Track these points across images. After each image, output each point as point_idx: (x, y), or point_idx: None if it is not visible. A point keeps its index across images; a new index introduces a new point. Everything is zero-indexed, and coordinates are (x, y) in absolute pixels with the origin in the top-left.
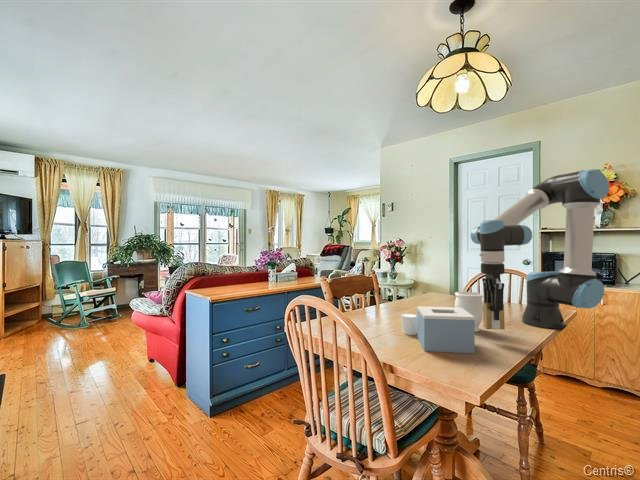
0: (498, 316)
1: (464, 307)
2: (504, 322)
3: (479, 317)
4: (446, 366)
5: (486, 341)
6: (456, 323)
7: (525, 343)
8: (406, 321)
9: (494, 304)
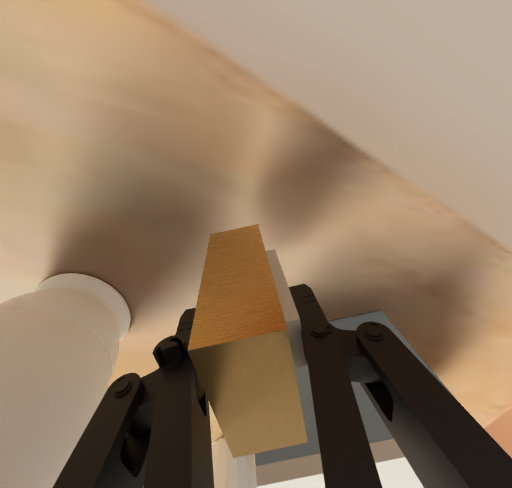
0: (318, 305)
1: None
2: (261, 240)
3: (70, 323)
4: (477, 368)
5: None
6: None
7: (202, 99)
8: None
9: (386, 417)
